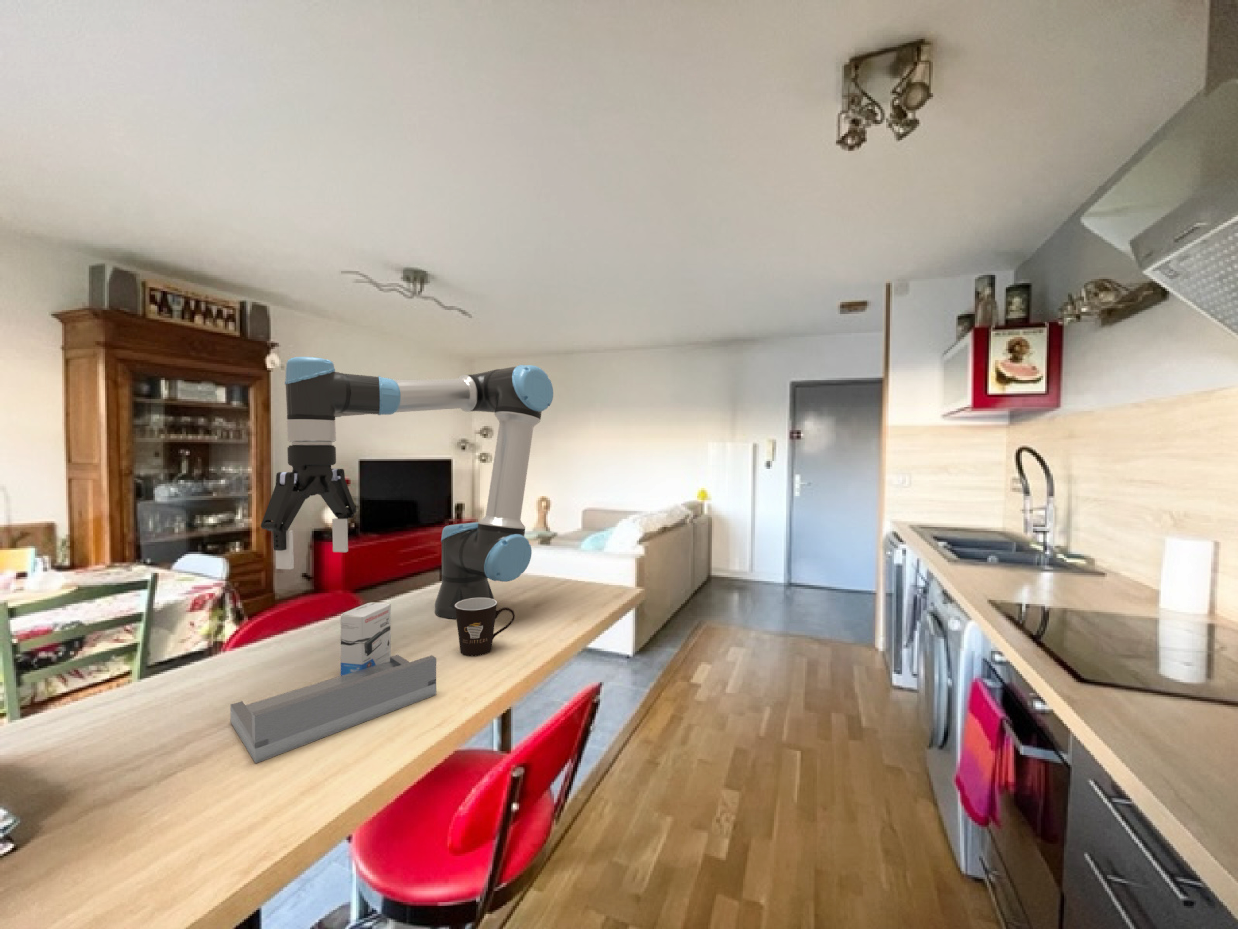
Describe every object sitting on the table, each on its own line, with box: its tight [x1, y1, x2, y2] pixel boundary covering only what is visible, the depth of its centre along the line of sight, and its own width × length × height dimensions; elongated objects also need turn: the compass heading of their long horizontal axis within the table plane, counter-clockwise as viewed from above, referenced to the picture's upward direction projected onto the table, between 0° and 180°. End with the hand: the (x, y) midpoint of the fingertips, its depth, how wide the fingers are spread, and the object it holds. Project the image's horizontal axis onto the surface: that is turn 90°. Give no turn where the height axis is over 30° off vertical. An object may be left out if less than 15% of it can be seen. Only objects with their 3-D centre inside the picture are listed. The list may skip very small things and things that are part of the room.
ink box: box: [340, 601, 392, 676], centre depth 97 cm, size 8×5×12 cm, turn 168°
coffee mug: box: [455, 598, 516, 657], centre depth 106 cm, size 12×9×10 cm
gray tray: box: [229, 654, 437, 764], centre depth 82 cm, size 26×15×6 cm, turn 138°
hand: (314, 559), depth 92 cm, fingers open, 13 cm apart
